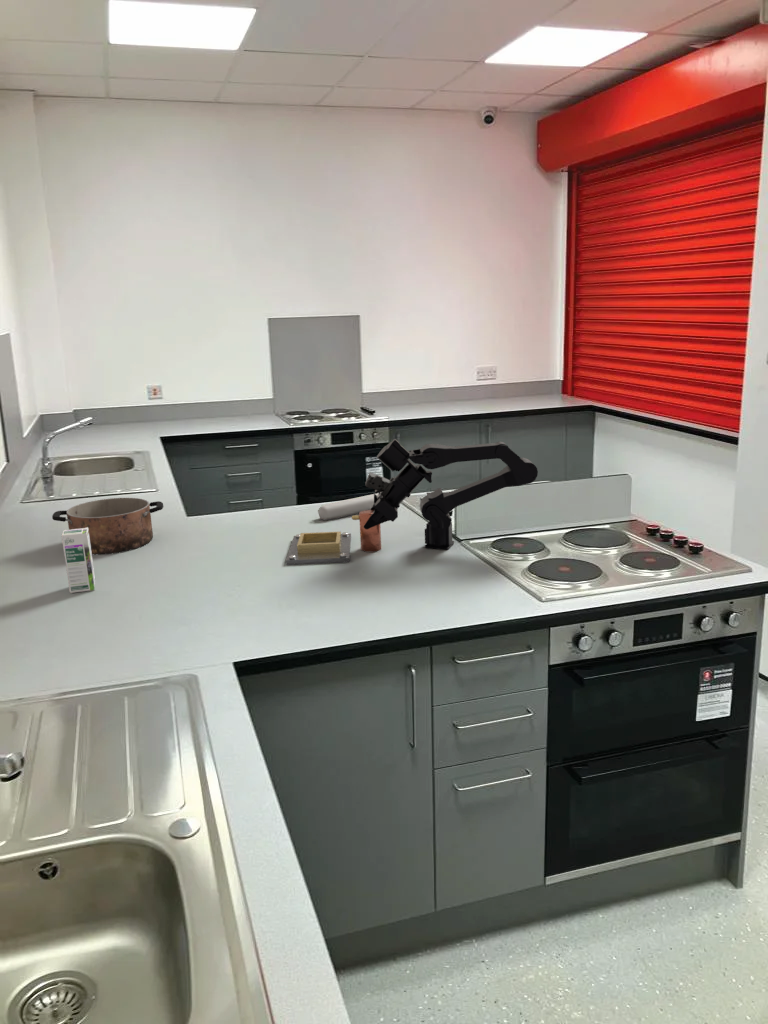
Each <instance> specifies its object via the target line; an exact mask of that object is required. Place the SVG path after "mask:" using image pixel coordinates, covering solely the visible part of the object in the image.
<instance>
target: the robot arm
mask: <svg viewBox="0 0 768 1024" xmlns="http://www.w3.org/2000/svg"><path fill="white" fill-rule="evenodd" d="M376 458H377V459H378V460H379V461H380V462H381V463H382V464H383V465H384V466H386V467H387V468H388V469H389V470H390V471H391V472H395V471H396V472H399V473H398V474H397V475H396V476H393V477H390V479H388V478H386V477H384V476H381V475H378V474H376V473H373V472H371V471H370V472H369V473H368V475H367V479H366V481H365V482H364V483H365V487H366V488H368V489H373V490H374V493H373V494H374V504H373V506H372V507H371V509H370V510H374V511H373V513H372V514H371V516H370V517H369V519H368V520H367V522H366V523H365V525H364V528H365V529H369V528H371V527H374V526H376V525H379V524H380V525H381V524H383V523H387V522H395V521H396V520H397V518H398V515H399V514H398V509H399V508H400V506H401V503H402V502H404V500H406V498H409V497H410V496H411V493H412V492H413V491H414V490H415V489H416V488H417V487H418V486H419V485H420V484H421V483H422V482H423V481H424V480H426V481H427V482H428V483H429V484H431V483H432V481H433V480H432V475H433V472H432V470H435V469H439V468H443V467H446V466H449V465H451V464H455V463H460V462H471V461H473V462H475V461H483V460H485V461H486V460H495V459H499V460H501V461H502V462H503V463H504V464H505V465H506V466H505V467H503V468H502V469H501V470H500V471H499V472H495V473H494V474H491V475H489V476H486V477H483V478H480V479H479V480H476V481H473V482H471V483H469V484H466V485H464V486H461V487H459V488H456V489H454V490H451V491H443V490H442V487H439V488H437V489H435V490H433V491H431V492H426V495H425V496H423V497H422V498H421V500H420V502H419V509H420V513H421V515H422V517H423V518H424V520H426V521H428V522H427V523H426V525H425V526H426V528H424V544H425V545H424V548H426V549H437V550H449V548H451V547H452V546H453V545H454V544H455V541H454V540H453V522H452V518H451V515H450V513H452V511H453V510H454V509H456V508H457V507H459V506H462V505H465V504H467V503H469V502H472V501H474V500H477V499H479V498H482V497H485V496H487V495H490V494H492V493H495V492H497V491H499V490H502V489H505V488H508V487H509V488H511V487H512V488H513V487H520V486H524V485H529V484H532V483H533V482H535V481H536V479H537V477H538V467H537V466H536V465H535V463H533V462H532V461H531V460H530V459H528V458H526V457H521V456H519V455H518V454H517V453H515V451H513V450H512V449H511V448H510V447H509V446H508V444H506V443H505V442H504V441H496V442H491V443H479V444H468V445H467V444H466V445H458V446H457V445H456V446H453V445H445V444H440V443H439V444H437V443H426V444H424V445H422V447H421V448H417V449H411V450H407V449H406V448H405V447H404V446H403V445H401V443H400V442H399V441H398V440H397V439H396V438H393V440H392V441H390V442H389V443H388V444H387V445H384V447H383V448H381V450H380V451H379V453H377V456H376ZM416 464H417V465H416ZM426 469H428V470H426ZM377 493H379V494H378V495H377V496H376V495H375V494H377Z"/></svg>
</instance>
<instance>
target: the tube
mask: <svg viewBox="0 0 768 1024" xmlns="http://www.w3.org/2000/svg"><path fill="white" fill-rule="evenodd" d="M374 494H375V495H376V496H377V495H378V494H379V493H377V494H376V493H373V494H372V493H371V494H368V495H364V496H363V495H362V496H359V497H354V498H348V499H344V500H339V501H335V502H334V501H333V502H329V503H325V504H321V506H319V508H318V510H317V514H318V517H319V519H321V520H323V521H329V520H330V521H331V520H335V519H339V518H344V517H345V518H346V517H349V516H353V515H359V512H361V511H365V510H370V509H371V507H372V506H373V504H374Z"/></svg>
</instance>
